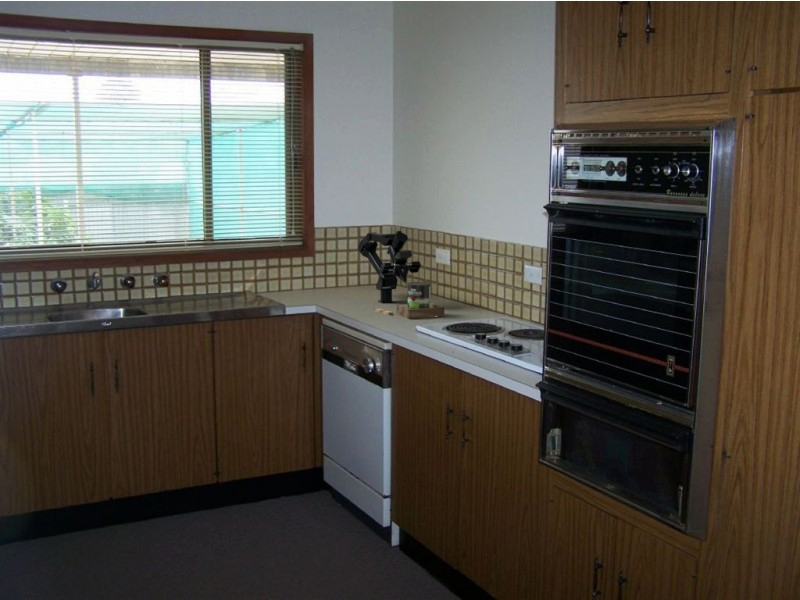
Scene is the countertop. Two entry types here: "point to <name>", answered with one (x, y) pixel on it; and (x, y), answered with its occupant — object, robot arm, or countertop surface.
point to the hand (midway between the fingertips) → (405, 282)
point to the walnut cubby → (421, 311)
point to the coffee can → (418, 295)
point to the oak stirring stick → (383, 311)
